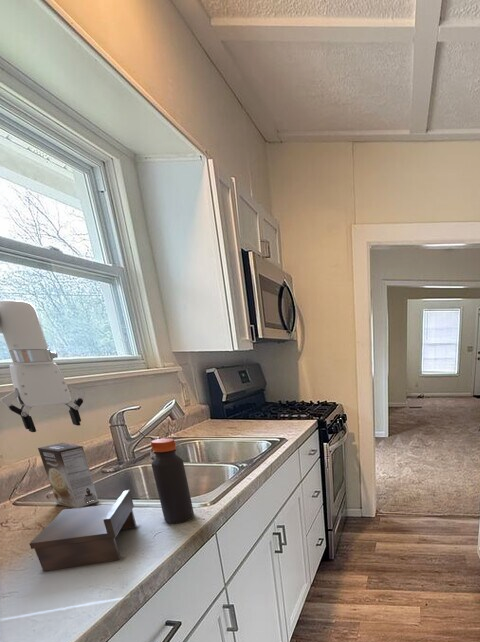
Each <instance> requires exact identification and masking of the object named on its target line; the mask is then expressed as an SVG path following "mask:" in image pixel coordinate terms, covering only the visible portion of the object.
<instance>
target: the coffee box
mask: <svg viewBox="0 0 480 642" xmlns="http://www.w3.org/2000/svg"><path fill="white" fill-rule="evenodd" d="M37 450H38V453H39V456H40V459H41V462H42V464H43V468H44V471H45V474H46V476H47V479H48V482H49V485H50V489H51V491H52V494H53V497H54V499H55V503H56V504H57V505H60V506H63V507H68V508H71V509H73V508H82V507H88V506H89V505H92V504H96V503H99V498H98V495H97V491H96V487H95V483H94V482H93V480H94V479H93V477H92V473H91V470H90V467H89V463H88V460H87V456H86V453H85V449H84V446H83V445H78V444H71V443H66V442H59V443H54V444H50V445H44V446H40V447H38V448H37ZM91 500H94V501H91ZM89 501H91V502H89ZM87 502H88V503H87Z"/></svg>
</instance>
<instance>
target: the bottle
mask: <svg viewBox="0 0 480 642" xmlns="http://www.w3.org/2000/svg"><path fill="white" fill-rule="evenodd" d="M150 445H151V449H152V452H153V454H154V455H155V457H154V458H153V460H152V461H151V469H152V473H153V477H154V481H155V485H156V489H157V493H158V498H159V502H160V507H161V510H162V514H163V519H164V521H165V523H168V524H181V523H186V522H188V521H190V520H192V519H193V518H194V517H195V512H194V508H193V507H194V506H193V503H192V497H191V493H190V487H189V483H188V478H187V473H186V468H185V464H184V460H183V458H182V457H180V456H179V455H177V453H176V451H177V447H176V442H175V439H173V438H169V437H168V438H167V437H166V438H158V439H154V440H151V441H150Z"/></svg>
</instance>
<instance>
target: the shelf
mask: <svg viewBox="0 0 480 642" xmlns="http://www.w3.org/2000/svg"><path fill="white" fill-rule="evenodd" d="M134 507H135V505H134V501H133V496H132V492H131V490H130V489H125V490H123V491H122V492H121V494H120V496H118V498H117V500H116V501H115V502H114V503H110V504H109V503H108V504H102V505H101V504H100V505H92V506H84V507H81V508H65V509H62V510H61V511H60V512H59V513H58V514H57V515H56V516H55V517H54V518H53V519H52V520H51V521H50V522H49V523H48V524H47V525H46V526H45V527H44V528H43V529H42V530H41V531H40V532H39V533H38V534H37V535H36V536H35V537H34V538H33V539H32V540H31V541H30V542H29V547H30V550H34V551H35V554H36V556H37V559H38V561H39V565H40V567H41V569H42V571H43V572H48V571H54V570H61V569H62V570H63V569H68V568H74V567H82V566H88V565H94V564H101V563H107V562H115V561H120V560H121V554H120V549H119V547H118V544H117V541H116V538H117V536H118V535H119V533H120V531H121V530H127V529H135V528H137V522H136V518H135V513H134Z"/></svg>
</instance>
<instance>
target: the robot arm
mask: <svg viewBox="0 0 480 642" xmlns="http://www.w3.org/2000/svg"><path fill="white" fill-rule="evenodd" d="M43 330H44V329H43V327H42V324H41V321H40V319H39V314H38V312H37V309H36V307H35V306H34V305H33V304H32V303H31V302H29V301H24V300H14V299H1V300H0V334H2V336H3V337H4V341H5V344H6V345H7V346H6V347H7V349H8V352H9V355H10V358H11V361H12V364H9V373H10V378H11V382H12V386H13V390H12V391H11V392H9V393H7V394H5V395H4V396H2V397H0V403H1V404H2V405H4V406H5V407H6V408H7V409H8V410H9V411H11V412H12V413H15V414H16V415H18V416H20V418H21V421H22V424H23V426H24V429H25V430H28V432H30V433H37V429H36V425H35V423H34V420H33V418H32V415H30V411H31V410H32V408H40V407H50V406H57V405H58V406H59V405H65V406H67V407H68V408H69V409H68V413H69V416H70V419H71V423H72V425H73V426H78V427H79V426H81V422H82V418H81V415H80V412H79V410H80V407H81V406H82V404H83V403H84V399H85V395H86V393H85V391H84V390H82V389H81V390H80V389H77V388H75V387H71V386H69V385H68V384H67V382H66V380H65V377H64V375H63V373H62V371H61V370H60V367H59V366H58V364H57V362H53V361H54V359H57V358H58V357H59V356H58V353H57V351H51V349H49V346H48V343H47V339H46V336H45V334H44V331H43ZM71 394H75V395H76V398H75V399H74V400H73V401H72V396H71ZM15 399H16V400H17V402H18V403H19V405H21V406H20V407H17V406H15V405H14V404H13V403H12V401H13V400H15Z"/></svg>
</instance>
